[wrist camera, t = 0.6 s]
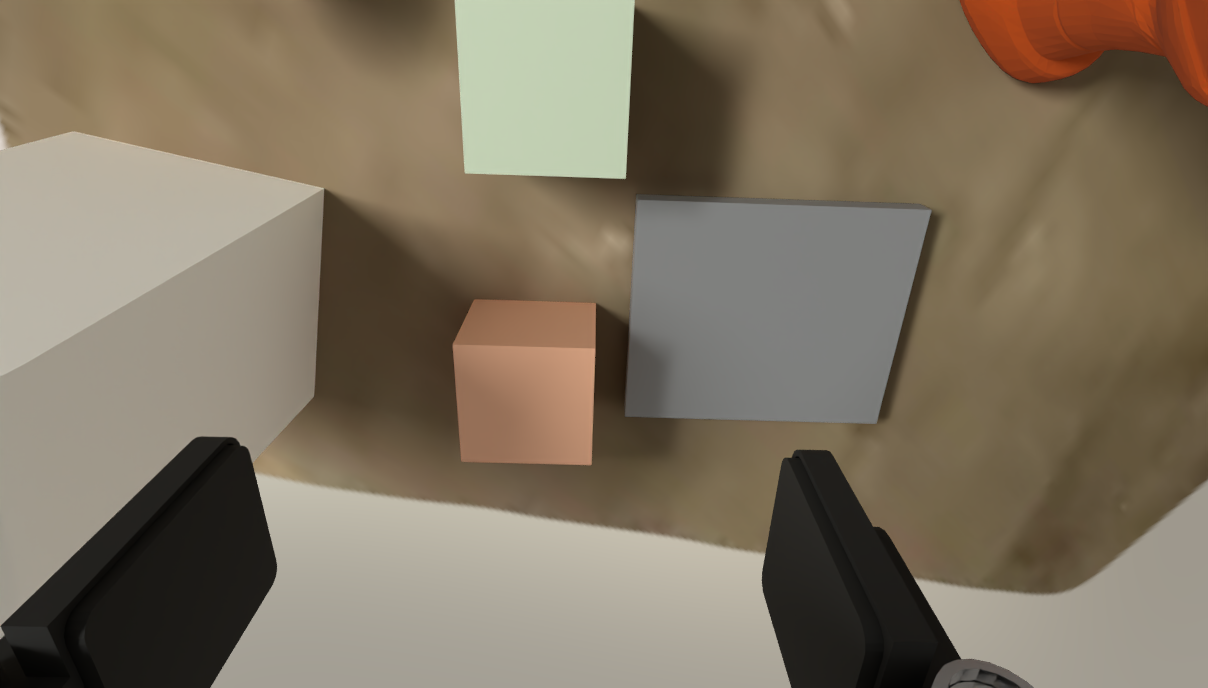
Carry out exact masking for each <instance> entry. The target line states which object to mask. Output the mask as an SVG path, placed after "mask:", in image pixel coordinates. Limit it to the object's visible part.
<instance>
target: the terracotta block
mask: <svg viewBox="0 0 1208 688" xmlns="http://www.w3.org/2000/svg"><path fill="white" fill-rule="evenodd" d="M595 337H596V303H580V302H549V301H517V300H485V299H474V301H473V303H472V305H471V307H470V309H469V311H468V313H467V315H466V318H465V320H464V322H463V324H462V326H461V328H460V330H459V332H458V334H457V336H456V338H455V341H454V343H453V357H454V370H455V384H456V397H457V410H458V424H459V437H460V451H461V462H489V463H528V464H568V465H592V435H593V404H594V374H595Z"/></svg>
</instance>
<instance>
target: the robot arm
mask: <svg viewBox="0 0 1208 688" xmlns="http://www.w3.org/2000/svg"><path fill="white" fill-rule="evenodd" d="M276 572H277V563H276V558H275V554H274V550H273V546H272V541H271V537H270V534H269V530H268V526H267V521H266V517H265V513H264V509H263V505H262V501H261V497H260V493H259V488H258V484H257V480H256V476H255V472H254V468H253V464H252V460H251V456H250V452H249V450H248V448H247V447H245V446H240V443H239V442H238V440H237V439H236V438H233V437H207V436H201V437H196V438H195V439H193V440H192V441H191V442H190V443H189V444H188V445H187V446H186V447H185V448H183V449H182V450H181V451H180V452H179V453H178V454H177V455H176V456H175V457H174V458H173V459H172V460H171V461H170V462H169V463H168V464H167V465H166V466H165V467H164V468H163V469H162V470H161V471H160V472H159V473H158V474H157V475H156V476H155V477H154V478H153V479H151V480H150V481H149V482H148V483H147V484H146V485H145V486H144V487H143V488H142V489H141V490H140V491H139V492H138V493H137V494H136V495H135V496H134V497H133V498H132V499H131V500H130V501H129V502H128V503H127V504H126V505H125V506H124V507H123V508H122V509H121V510H119V511H118V512H117V513H116V514H115V515H114V516H113V517H112V518H111V519H110V520H109V521H108V522H107V523H106V524H105V525H104V526H103V527H102V528H101V529H100V530H99V531H98V532H97V533H96V534H95V535H94V536H93V537H92V538H91V539H90V540H89V541H87V542H86V543H85V544H84V545H83V546H82V547H81V548H80V549H79V550H78V551H77V552H76V553H75V554H74V555H73V556H72V557H71V558H70V559H69V560H68V561H67V562H66V563H65V564H64V565H63V566H62V567H61V568H60V569H59V570H58V571H57V572H55V573H54V574H53V575H52V576H51V577H50V578H49V579H48V580H47V581H46V582H45V583H44V584H43V585H42V586H41V587H40V588H39V589H38V590H37V591H36V592H35V593H34V594H33V595H32V596H31V597H30V598H29V599H28V600H27V601H26V602H25V603H23V604H22V605H21V606H20V607H19V608H18V609H17V610H16V611H15V612H14V613H13V614H12V615H11V616H10V617H9V618H8V619H7V620H6V621H5V622H4V623H3V624H2V625H1V626H0V627H1V629H2V631H3V633H4V636H3V637H2V638H1V639H0V688H210V687H211V685H212V684H213V682H214V680H215V679H216V677H217V676H218V674H219V672H220V670H221V669H222V667H223V666H224V664H225V662H226V660H227V659H228V657H229V656H230V654H231V652H232V651H233V649H234V648H235V646H236V644H237V643H238V641H239V639H240V638H241V636H242V634H243V633H244V631H245V629H246V628H247V626H248V624H249V623H250V621H251V619H252V618H253V616H254V615H255V613H256V611H257V610H258V608H259V606H260V605H261V603H262V601H263V600H264V598H265V596H266V595H267V593H268V592H269V590H270V588H271V587H272V585H273V583H274V580H275V577H276ZM762 587H763V593H764V596H765V600H766V603H767V607H768V610H769V613H770V617H771V620H772V624H773V627H774V630H775V633H776V637H777V640H778V644H779V647H780V650H781V654H782V657H783V661H784V664H785V667H786V671H787V674H788V677H789V681H790V684H791V688H1033V687H1032V686H1031V685H1030V684H1029V683H1028V682H1027V681H1025V680H1023V679H1022V678H1020V677H1019V676H1017V675H1015V674H1014V673H1012V672H1011V671H1009V670H1007V669H1004V668H1002V667H999V666H997V665H995V664H992V663H990V662H985V661H980V660H974V659H961V658H960V656H959V655H958V653H957V651H956V649H955V648H954V646H953V644H952V643H951V641H950V639H949V637H948V636H947V634H946V632H945V631H944V629H943V627H942V626H941V624H940V622H939V620H938V619H937V617H936V615H935V614H934V612H933V610H932V609H931V607H930V605H929V603H928V602H927V600H926V598H925V597H924V595H923V593H922V592H921V590H920V588H919V586H918V585H917V583H916V581H915V579H914V578H913V576H912V574H911V573H910V571H909V569H908V568H907V566H906V564H905V562H904V561H903V559H902V557H901V556H900V554H899V552H898V550H897V549H896V547H895V545H894V544H893V542H892V540H891V539H890V537H889V536H888V534H887V533H886V532H885V530H883V529H881V528H880V527H873V526H872V524H871V522H870V521H869V519H868V517H867V515H866V513H865V512H864V510H863V508H862V506H861V505H860V503H859V501H858V499H857V498H856V496H855V494H854V492H853V490H852V489H851V487H850V485H849V483H848V482H847V480H846V478H845V476H844V475H843V473H842V471H841V469H840V467H839V466H838V464H837V462H836V460H835V459H834V457H833V455H832V454H831V452H830V451H827V450H796V451H794V453H793V456H792V458H784V459H783V461H782V465H781V470H780V475H779V481H778V487H777V492H776V498H775V503H774V509H773V515H772V520H771V526H770V531H769V537H768V543H767V548H766V554H765V560H764V565H763V571H762Z"/></svg>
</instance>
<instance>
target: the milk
mask: <svg viewBox="0 0 1208 688" xmlns="http://www.w3.org/2000/svg"><path fill="white" fill-rule="evenodd" d="M323 204H324V188H320V187H316V186H312V185H307V184H303V183H298V182H294V181H290V180H285V179H281V178H277V177H272V176H268V175H263V174H259V173H255V172H250V171H246V170H241V169H237V168H233V167H228V166H224V165H219V164H215V163H211V162H206V161H202V160H197V159H193V158H189V157H184V156H180V155H175V154H171V153H167V152H162V151H158V150H153V149H149V148H145V147H140V146H136V145H132V144H127V143H123V142H118V141H114V140H110V139H105V138H101V137H96V136H92V135H88V134H83V133H79V132H74V131H73V132H69V133H65V134H61V135H57V136H54V137H50V138H46V139H42V140H38V141H34V142H31V143H27V144H23V145H19V146H15V147H12V148H8V149H4V150H0V626H1V625H2V624H3V623H4V622H5V621H6V620H7V619H8V618H9V617H10V616H11V615H12V614H13V613H14V612H15V611H16V610H17V609H18V608H19V607H20V606H21V605H22V604H23V603H25V602H26V601H27V600H28V599H29V598H30V597H31V596H32V595H33V594H34V593H35V592H36V591H37V590H38V589H39V588H40V587H41V586H42V585H43V584H44V583H45V582H46V581H47V580H48V579H49V578H50V577H51V576H52V575H53V574H54V573H55V572H57V571H58V570H59V569H60V568H61V567H62V566H63V565H64V564H65V563H66V562H67V561H68V560H69V559H70V558H71V557H72V556H73V555H74V554H75V553H76V552H77V551H78V550H79V549H80V548H81V547H82V546H83V545H84V544H85V543H86V542H87V541H89V540H90V539H91V538H92V537H93V536H94V535H95V534H96V533H97V532H98V531H99V530H100V529H101V528H102V527H103V526H104V525H105V524H106V523H107V522H108V521H109V520H110V519H111V518H112V517H113V516H114V515H115V514H116V513H117V512H118V511H119V510H121V509H122V508H123V507H124V506H125V505H126V504H127V503H128V502H129V501H130V500H131V499H132V498H133V497H134V496H135V495H136V494H137V493H138V492H139V491H140V490H141V489H142V488H143V487H144V486H145V485H146V484H147V483H148V482H149V481H150V480H151V479H153V478H154V477H155V476H156V475H157V474H158V473H159V472H160V471H161V470H162V469H163V468H164V467H165V466H166V465H167V464H168V463H169V462H170V461H171V460H172V459H173V458H174V457H175V456H176V455H177V454H178V453H179V452H180V451H181V450H182V449H183V448H185V447H186V446H187V445H188V444H189V443H190V442H191V441H192V440H193V439H195V438H196V437H201V436H207V437H233V438H236V439H237V440H238V442H239V443H240V446H245V447H247V448H248V450H249V452H250V456H251V460H252V463H253V462H254V461H255V460H256V459H257V458H258V456H259V455H260V454H261V453H262V452H263V451H264V450H265V449H266V448H267V447H268V446H269V445H270V444H271V442H272V441H273V440H274V439H275V438H276V437H277V436H278V435H279V434H280V433H281V432H282V431H283V430H284V428H285V427H286V426H287V425H288V424H289V423H290V422H291V421H292V420H293V419H294V418H295V417H296V416H297V415H298V413H299V412H300V411H301V410H302V409H303V408H304V407H305V406H306V405H307V404H308V403H309V402H310V401H311V399H312V398H313V397H314V391H315V370H316V349H317V329H318V308H319V287H320V266H321V245H322V225H323ZM3 636H4V633H3V631H2V629H1V627H0V639H1V638H2V637H3Z"/></svg>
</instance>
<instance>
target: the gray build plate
mask: <svg viewBox="0 0 1208 688" xmlns="http://www.w3.org/2000/svg"><path fill="white" fill-rule="evenodd" d="M931 211H932V210H931V209H929V208H927V207H925V206H923V205H921V204H907V203H878V202H849V201H820V200H790V199H761V198H732V197H703V196H674V195H645V194H636V209H635V227H634V244H633V262H632V279H631V297H630V315H629V332H628V350H627V367H626V385H625V402H624V408H625V417H654V418H690V419H726V420H762V421H798V422H834V423H870V424H876V423H877V419H878V415H879V411H880V407H881V404H882V400H883V396H884V392H885V388H886V384H887V380H888V377H889V373H890V369H891V365H892V361H893V357H894V353H895V350H896V346H897V342H898V338H899V334H900V330H901V326H902V323H903V319H904V315H905V311H906V307H907V303H908V299H909V296H910V292H911V288H912V284H913V280H914V276H915V272H916V268H917V265H918V261H919V257H920V253H921V249H922V245H923V241H924V238H925V234H926V230H927V226H928V222H929V218H930V214H931Z"/></svg>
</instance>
